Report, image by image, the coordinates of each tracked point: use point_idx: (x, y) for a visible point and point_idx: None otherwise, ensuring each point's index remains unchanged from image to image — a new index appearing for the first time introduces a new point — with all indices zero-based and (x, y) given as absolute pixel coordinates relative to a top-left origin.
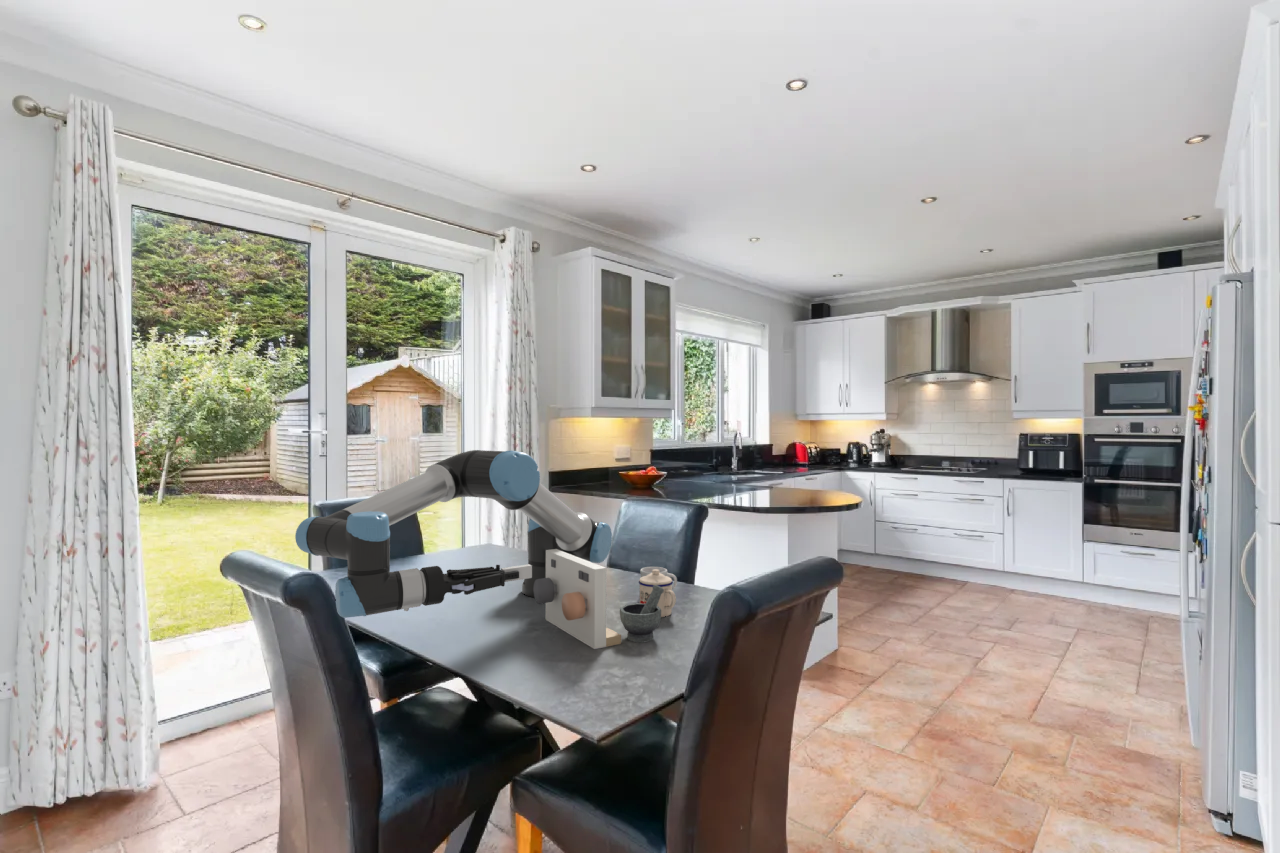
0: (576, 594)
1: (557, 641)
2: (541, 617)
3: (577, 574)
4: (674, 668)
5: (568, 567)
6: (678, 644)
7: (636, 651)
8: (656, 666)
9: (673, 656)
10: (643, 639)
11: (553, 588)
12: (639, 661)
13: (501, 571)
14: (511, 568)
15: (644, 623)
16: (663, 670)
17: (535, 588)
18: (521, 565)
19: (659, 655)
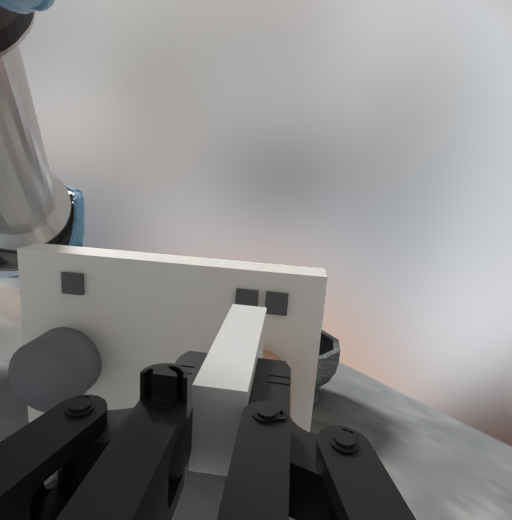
0: (268, 358)
1: (188, 503)
2: (5, 432)
3: (220, 300)
4: (481, 437)
5: (165, 286)
6: (358, 379)
7: (361, 430)
8: (463, 450)
9: (414, 409)
10: (318, 395)
11: (98, 354)
12: (423, 455)
13: (282, 420)
14: (255, 359)
15: (336, 366)
16: (490, 454)
17: (23, 371)
18: (228, 320)
19: (400, 418)
